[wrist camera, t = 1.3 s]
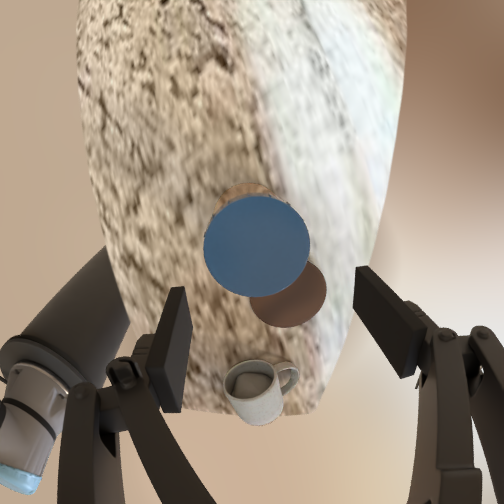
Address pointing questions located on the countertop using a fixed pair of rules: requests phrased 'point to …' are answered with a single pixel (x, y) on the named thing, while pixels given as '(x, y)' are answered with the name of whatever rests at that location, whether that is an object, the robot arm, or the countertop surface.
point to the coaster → (293, 300)
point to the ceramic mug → (258, 390)
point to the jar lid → (256, 245)
